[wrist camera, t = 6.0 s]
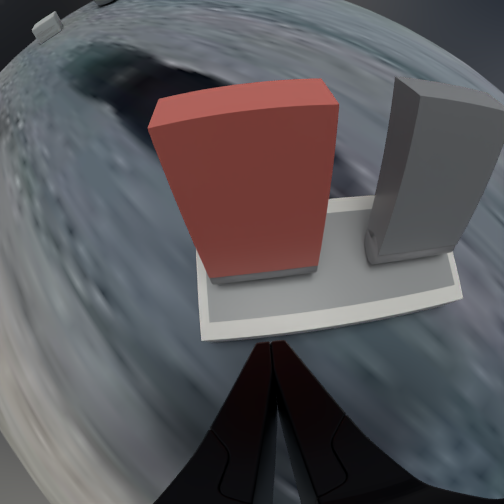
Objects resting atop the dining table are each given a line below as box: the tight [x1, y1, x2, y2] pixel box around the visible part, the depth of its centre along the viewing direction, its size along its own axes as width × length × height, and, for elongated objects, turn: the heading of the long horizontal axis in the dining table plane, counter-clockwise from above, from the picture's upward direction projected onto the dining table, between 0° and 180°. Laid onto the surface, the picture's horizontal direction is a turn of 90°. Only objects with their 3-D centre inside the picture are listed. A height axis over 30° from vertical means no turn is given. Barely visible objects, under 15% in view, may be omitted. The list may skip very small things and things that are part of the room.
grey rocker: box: [365, 77, 504, 265], centre depth 11 cm, size 2×5×9 cm, turn 95°
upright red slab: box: [148, 79, 339, 284], centre depth 11 cm, size 2×5×9 cm, turn 95°
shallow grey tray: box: [196, 195, 463, 342], centre depth 17 cm, size 7×15×3 cm, turn 96°
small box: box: [32, 11, 63, 44], centre depth 36 cm, size 6×6×5 cm
